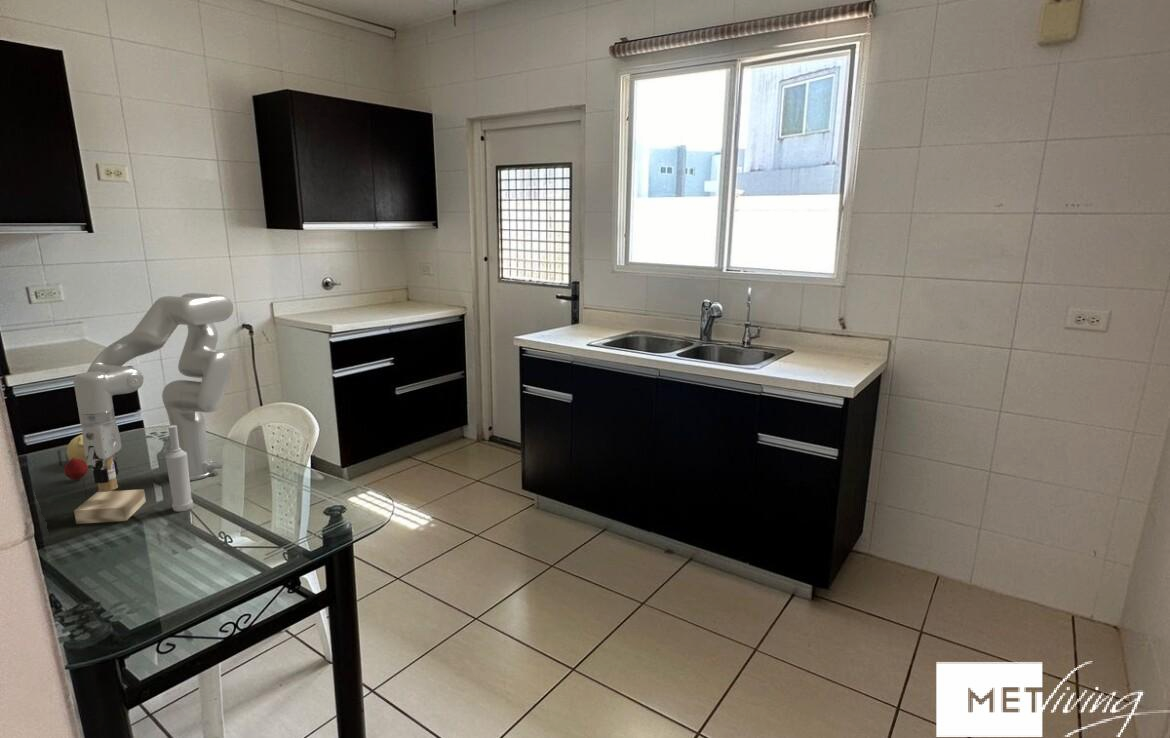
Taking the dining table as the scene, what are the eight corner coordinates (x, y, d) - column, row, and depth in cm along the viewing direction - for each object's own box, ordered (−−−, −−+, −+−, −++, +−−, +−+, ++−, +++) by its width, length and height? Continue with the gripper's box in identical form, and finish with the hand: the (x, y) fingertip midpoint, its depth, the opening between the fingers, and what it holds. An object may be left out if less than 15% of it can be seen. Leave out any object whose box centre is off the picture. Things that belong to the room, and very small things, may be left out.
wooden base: (145, 501, 183) (144, 489, 182) (126, 520, 172) (124, 507, 171) (99, 504, 181) (97, 491, 180) (76, 524, 169) (74, 510, 168)
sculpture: (96, 470, 204) (91, 439, 202) (60, 468, 204) (54, 438, 202) (122, 457, 215) (117, 427, 213) (88, 456, 215) (83, 426, 213)
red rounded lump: (79, 484, 193) (75, 460, 191) (61, 483, 193) (56, 459, 192) (94, 476, 199) (90, 453, 197) (76, 476, 199) (72, 452, 197)
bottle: (197, 506, 182) (187, 425, 176) (180, 513, 177) (169, 430, 171) (186, 502, 184) (175, 422, 178) (168, 509, 179) (157, 427, 173)
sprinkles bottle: (117, 490, 174) (110, 445, 171) (97, 494, 171) (89, 448, 168) (118, 484, 178) (112, 440, 175) (98, 488, 175) (91, 443, 172)
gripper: (96, 426, 162) (106, 490, 167) (127, 407, 178) (136, 466, 183) (63, 427, 161) (74, 492, 165) (97, 408, 177) (106, 468, 181)
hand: (106, 478), depth 174 cm, fingers closed on sprinkles bottle, 4 cm apart
